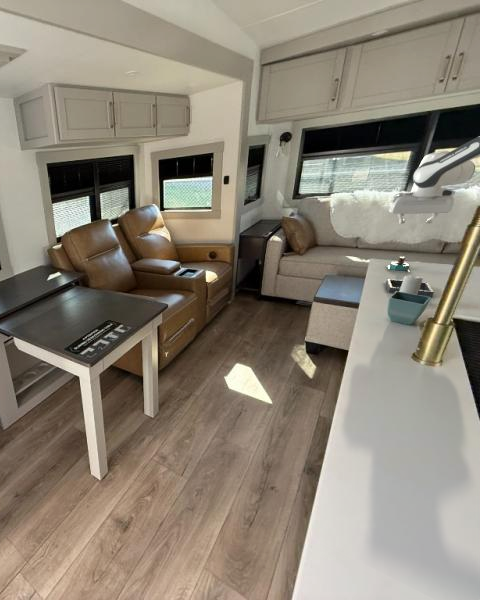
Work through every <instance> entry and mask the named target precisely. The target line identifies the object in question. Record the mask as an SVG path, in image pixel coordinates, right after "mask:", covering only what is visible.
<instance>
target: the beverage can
mask: <svg viewBox="0 0 480 600" xmlns="http://www.w3.org/2000/svg"><path fill="white" fill-rule="evenodd" d="M423 278H424V277H423V276H421V275H418V274H405V275H404V277H403V279H402V280H403V282H402V285H401V288H400V291H399V292H404V293H410V294H416V295H417V293H418V291H419V288H420V285H421V283H422V282H423Z"/></svg>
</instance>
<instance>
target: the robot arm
mask: <svg viewBox="0 0 480 600" xmlns="http://www.w3.org/2000/svg"><path fill="white" fill-rule="evenodd" d="M477 158H480V135H479V136H477V137H475V138H473V139H471V140H469V141H467V142H464V143H463V144H462V145H460V146H458V147H457V148H455V149H453V150H451V151H448V150H446V151H444V150H443V151H436V152H432V153H428V154H426V155H425V156H424V157H423V159H422V160H421V162H420V164H419V166H418V167H417V169H415V171H414V172H413V175H412V181H413V185H412V188H411V191H409V192H399V193H397V194H395V195H394V196H393V198H392V203H391V204H390V207H389V209H388V212H389V213H390V214H392V215H397V218H398V224H399V225H401V224H405V223H406V219H404V218H403V217H404V216H405V215H407V214H414V215H415V214H416V215H417V214H430V215H431V216H429V218H426V219H425V223H424V224H432V223H433V221H434V219H436V218H437V217H438V216H439V214H448V213H450V212H451V211H452V209H453V206H454V202H455V197H454V196H455V194H456V191H455V190H453V189H448V188H447V187H445V186H456V185H461V184H464V183H466V182H468V181H469V180H470V179H471V178H472V177H473V176H474V173H475V172H476V171H475V170H476V165H475V163H474V162H473V161H472V160H474V159H477ZM443 186H444V187H443Z"/></svg>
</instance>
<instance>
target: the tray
mask: <svg viewBox="0 0 480 600" xmlns="http://www.w3.org/2000/svg"><path fill="white" fill-rule="evenodd" d="M402 282H403V279H395V278H394V279H393V278H386V282H385V287H386V291H387V293H388V294H394V293H395V292H396V291H400V288H401V285H402ZM434 294H435V291H434V290H433V288H432V287H431V285H430V283H429V282H424V281H422V283H421V285H420V288H419V291H418V293H417V295H422V296H427V297H431V299H432V298H433V296H434Z"/></svg>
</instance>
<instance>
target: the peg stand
mask: <svg viewBox="0 0 480 600" xmlns="http://www.w3.org/2000/svg"><path fill="white" fill-rule="evenodd" d="M405 260H406V257H405V256H399V257H398V260H397V262H398V263H397V265H403V263H405ZM387 268H388V270H389V271H396V272H400V271H399V270H393V269H390V265H387ZM405 272H407V273H410V272H411V271H410V268H409V269H408V270H406V271H405Z"/></svg>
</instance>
